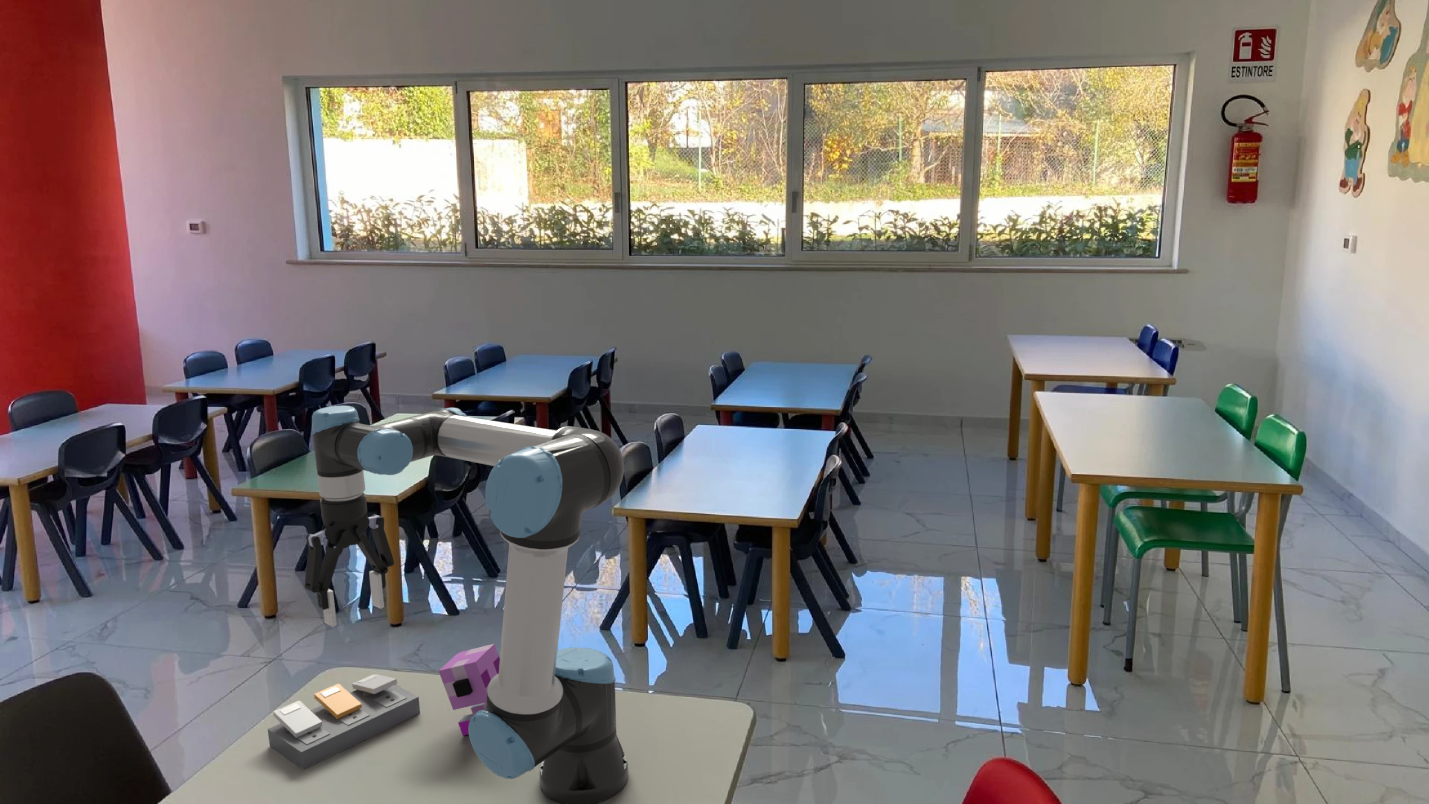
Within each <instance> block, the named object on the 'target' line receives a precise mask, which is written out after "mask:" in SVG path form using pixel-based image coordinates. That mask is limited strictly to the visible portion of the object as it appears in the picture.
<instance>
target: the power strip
mask: <svg viewBox="0 0 1429 804" xmlns="http://www.w3.org/2000/svg"><path fill="white" fill-rule="evenodd" d="M349 693H350V694H351V695H352V696H354V697H355V698H356V699H357V700H358V701H359V702H360V703H362V708H360V709H358V710H356V711H354V712H352V713H349V714H347V715H345V716H343V717H341V718H339V719H337V718H335V717H334V716H333V715H332V714H331V713H330V712H329V711H328V710H327V709H326V708H325V707H323V706H322V705H321V704H320V705H319V706H317V707H315V708H312V709H309V710H310V711H311V712H312V713H313V714H315V715H316V716H317V717H318V718H319V719H320V720H321V721H322V726H321V727H319V728H317V729H315V730H312V731H310V732H308V733H306V734H304V735H301V736H299V737H297V738H296V737H295V736H294V735H293V734H292V733H291V732H290V731H288V730H287V729H286V728H285V727H284V726H283V725H282V724H281V723H280V722H279V723H278V724H276V725H273V726H271V727H269V728H267V733H268V734H267V735H268V742H269V747H270V748H272V749H274V751H276V752H277V753H279V754H280V755H281V756H283V757H285V759H287V760H289V761H290V762H291V763H292V764H294V765H296V766H297V767H298V768H300V769H301V770H304V771H305V770H306V769H309V768H310V767H312V766H315V765H317V764H318V763H321V762H323V761H325V760H327V759H328V758H331V757H333V756H335V755H337V754H339V753H341V752H343V751H346V750H348V749H349V748H351V747H353V746H355V745H357V744H359V743H361V742H364V741H366V740H369V738H372V737H374V736H376V735H378V734H380V733H382V732H385V731H386V730H388V729H390V728H392V727H394V726H397V725H399V724H400V723H402V722H405V721H407V720H410V719H411V718H413V717H414V716H417V715H419V714H421V709H420V708H421V707H420V697H419V696H418V695H417V694H415V693H413V692H411V691H409V690H407V689H405V688H403V687H402V686H401V685H400V686H399V685H398V684H396V685H393V686H391V687H389V688H387V689H385V690H382V691H380V692H378V693H376V694H372V693H369V692H365V691H361V690H357V689H354V690H353V691H350V692H349Z"/></svg>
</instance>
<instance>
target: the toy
mask: <svg viewBox="0 0 1429 804" xmlns="http://www.w3.org/2000/svg"><path fill="white" fill-rule="evenodd" d="M499 664H500V655H499V653H498V650H497V647H496V645H495V643H492V644H488V645H487V644H486V645H483V646H480V647H477V648H476V647H475V648H472V649H468V650H467V649H466V650H464V651H459V652H457V653H456V654H455V655H454V656H453V657H452V658H451V659H449V661H448V662H446V664H444V665H443V666H442V667H441V668H440V669H439V670H438V673H439V676H440V678H441V681H442V684H443V688H444V689H445V691H446V694H447V697H448V700H449V702H450V705H451V708H452V710H453V711H456V710H460V709H464V708H468V707H469V708H470V711H471V714H465V715H463V717H462V718H461V719H460V720H459V721H458V722H457V723H458V727H459V729H460V731H461V732H460V733H461V735H462V736H467V735H468V736H469V731H468V728H469V722H470V720H471V718H472V717H473V716H474V715H475V714H476V712H478V711H479V710H483V709H484V708H485V707H486V701H487V689H488V685H489V683H490V681H491V680H492V678H493V677H494V676H496V675H497V674H499Z"/></svg>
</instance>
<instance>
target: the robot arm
mask: <svg viewBox="0 0 1429 804" xmlns="http://www.w3.org/2000/svg"><path fill="white" fill-rule="evenodd" d="M311 425H312V432H311V436H312V442H313V450H314V457H315V458H314V459H315V466H316V472H317V474H316V475H317V484H318V493H319V496H320V497H321V498H320V500H319V504H320V512H321V519H322V522H323V525H322V528H321V530H320V531H318V532H316V533H314V534H312V533H308V534H307V535H306V537H305V539H306V540H305V541H306V543H307V546H308V547H307V557H306V567H305V568H306V569H305V570H306V571H305V580H304V589H305V590H308V591H309V592H311V593H314V594H316V596H317V597H316V598H317V606H318V608H319V609H321V610H322V611H323V619H324V620H323V621H324V623H325V624H326V625H328V626H330V627H331V628H333V627H336V626H337V624H338V623H337V615H336V607H335V604H336V603H335V598H334V590H332V589H330V586H331V583H332V579H333V577H334V573H335V571H336V570H335V569H336V566H337V564H338V560H339V558H340V556H341V555H342V554H343V551H344V549H346V548H348V547H350V546H357V547H358V548H359V550H360V552H361V553H362V554H363V555H364V557H365V559H366V560H367V562H368V564H369V565H370V567H372V570H370V571H368V572H369V573H368V574H369V586H370V587H369V588H370V596H371V605H372V606H374V607H376V608H378V609H380V610H381V609H385V602H384V600H385V599H384V593H383V592H384V590H383V589H385V588H386V585H387V582H386V574H388V572H389V567H393V566H394V565H395V560H394V556H393V554H392V551H391V547H390V544H389V541H388V538H387V534H386V531H385V518H384V517H383V516H381V515H377V514H375V513H374V514H371V516H369V517H368V515H367V513H368V505H367V495H366V493H364V492H365V491H366V482H365V473H364V471H366V472H369V473H372V474H374V475H380V476H381V475H382V476H383V475H384V476H385V475H387V476H395V475H398V474H400V473H402V472H403V471H404V470H405V468H407V467H408V466H409V465H410V463H412V462H415V461H419V460H422V459H426V458H429V457H432V456H440V457H445V458H450V459H457V460H462V461H466V462H467V461H468V462H471V463H476V464H477V463H478V464H481V465H482V464H483V465H488V466H491V467H493V468H492V469H491V471H490V472H489V475H488V478H487V480H486V484H485V494H484V495H485V496H484V497H485V505H486V509H487V510H488V511H489V510H490V512H491V514H490V515H489V517H490V518H489V519H491V522H492V523H493V525H494V526H495V527H496V528H497V530H499V534H500V536H501V538H502V539H503V540H504V541H505V542H506V543H508V556H507V566H506V567H507V568H506V569H507V570H506V578H505V579H506V581H505V582H506V583H505V594H504V602H503V603H504V606H503V618H502V629H501V640H500V641H501V642H500V644H501V645H500V653H499V654H500V655H499V658H500V664H499V674H497V675H496V676H494V677H493V678H492V680H491V681H490V683H489V685H488V689H487V701H486V707H485V708H484V709H483V710H479V711H478V712H476V714H475V715H474V716H473V717H472V718H471V720H470V722H469V728H468V731H469V734H468V737H469V740H470V741H469V742H470V744H471V746H472V749H473V751H474V753H475V754H476V755H477V757H478V759H479V761H480V762H481V763H482V764H483V765H484V766H485V767H486V769H488V770H489V771H490V772H492V773H493V774H495V775H496V776H498V777H501V778H503V779H506V780H511V779H512V780H513V779H516V778H519V777H521V776H522V775H524V774H526V773H528V772H532V771H533V770H534V769H535V767H537V766H538V765H540V766H539V784H540V785H539V786H540V789H541V791H542V793H543V794H544V795H545V796H546V797H548V798H549V799H550V800H553V801H555V802H557V803H561V804H596V803H600V802H603V801H605V800H607V799H608V800H609V799H610V798H611V797H614V796H615V795H617V794H618V793H619V792H621V790H623V788H624V787H625V786H626V784H627V783H628V778H629V764H628V760H627V759H628V758H627V757H626V755H625V752H624V749H623V747H622V744H621V742H620V739H619V737H618V735H617V711H616V710H617V708H616V705H617V704H616V676H615V671H614V663H613V660H612V659H611V657H609V655H607V654H606V653H604V652H602V651H601V650H597V649H593V648H587V647H565V648H561V649H558V648H559V639H560V629H561V620H562V608H563V600H564V599H563V597H564V593H565V592H564V589H565V581H566V580H565V579H566V571H567V561H568V553H569V548H571V546H573V545H575V544H576V543H577V542H578V541H579V539H580V535H581V529H582V528H581V527H582V520H583V519H582V518H583V514H584V513H585V512H587V511H589V510H592V509H594V508H597V507H598V506H602V505H603V504H604V503H606V502H608V501H609V500H610V499H611V498H612V497H613V496H614V495H615V494H616V493H617V491H618V490H619V488H620V486H621V483H622V481H623V477H624V475H625V474H624V472H625V463H624V457H623V453H622V452H621V450H620V448H619V446H618V445H617V443H616V442H615V441H614V440H613V439H612V438H611V437H610V436H609V435H607V434H606V433H604V432H602V431H599V430H594V429H591V428H585V427H577V426H571V425H570V426H569V425H566V426H563V427H561V428H558V429H548V428H541V427H534V426H529V425H522V424H515V423H509V422H502V421H496V420H490V419H483V418H476V417H470V416H467V414H466V413H464V412H463V411H462V410H461V409H460V408H458V407H446V408H437V409H435V410H433V411H430V412H424V413H422V414H417V415H414V416H410V417H405V418H401V419H398V420H393V421H389V422H385V423H381V424H376V425H369V424H365V423H364V424H363V423H362V422H360V418H359V414H358V411H357V409H356V408H355V407H354V406H352V405H351V406H350V405H333V406H327V407H326V406H325V407H322V408H319V409H317V410H315V411H314V412H313V413H312V415H311ZM368 527H369V528H370V531H371V534H372V537H373V540H374V544H375V546H376V550H377V551H376V550H375V549H374V547H373V546H372V544H371V540H369V538H368V536H367V535H366V531H367V529H368ZM325 539H326V545H325V547H324V548H325V554H324V557H323V558H322V554H323V545H324V540H325ZM322 559H323V560H322Z"/></svg>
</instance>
